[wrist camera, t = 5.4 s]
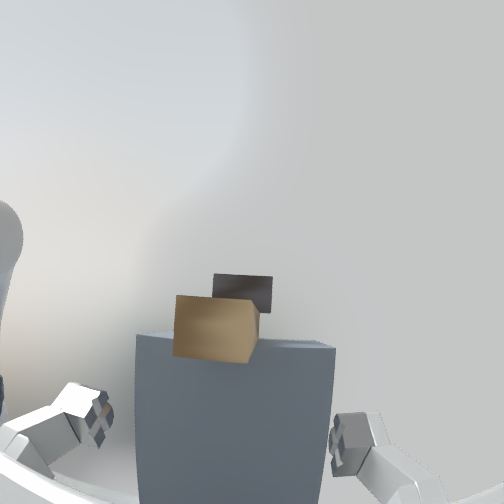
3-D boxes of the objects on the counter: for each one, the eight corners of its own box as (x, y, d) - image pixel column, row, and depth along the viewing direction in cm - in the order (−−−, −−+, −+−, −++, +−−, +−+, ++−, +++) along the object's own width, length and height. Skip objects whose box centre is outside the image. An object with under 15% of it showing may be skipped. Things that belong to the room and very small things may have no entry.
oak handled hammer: (149, 353, 12) (161, 222, 13) (216, 335, 29) (220, 279, 31) (273, 364, 11) (279, 226, 13) (268, 339, 29) (271, 282, 30)
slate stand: (150, 575, 15) (136, 334, 21) (174, 528, 25) (175, 331, 31) (296, 591, 14) (335, 348, 20) (291, 539, 24) (313, 340, 30)
